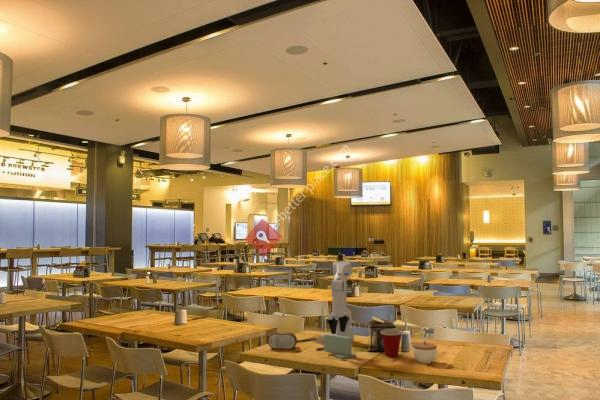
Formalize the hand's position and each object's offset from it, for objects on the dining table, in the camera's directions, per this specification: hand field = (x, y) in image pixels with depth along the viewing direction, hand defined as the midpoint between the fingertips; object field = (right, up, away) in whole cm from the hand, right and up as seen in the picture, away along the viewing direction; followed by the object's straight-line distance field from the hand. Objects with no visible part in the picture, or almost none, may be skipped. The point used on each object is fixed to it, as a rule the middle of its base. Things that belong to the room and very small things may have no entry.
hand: (338, 332), depth 251 cm
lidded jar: (+39, -10, -15) cm, 43 cm away
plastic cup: (+25, -11, -3) cm, 28 cm away
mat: (0, -10, -1) cm, 10 cm away
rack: (-8, -12, +17) cm, 23 cm away
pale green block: (0, -10, -1) cm, 10 cm away
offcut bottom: (-5, -11, +20) cm, 23 cm away
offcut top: (-4, -9, +20) cm, 22 cm away
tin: (-28, -11, +11) cm, 32 cm away
